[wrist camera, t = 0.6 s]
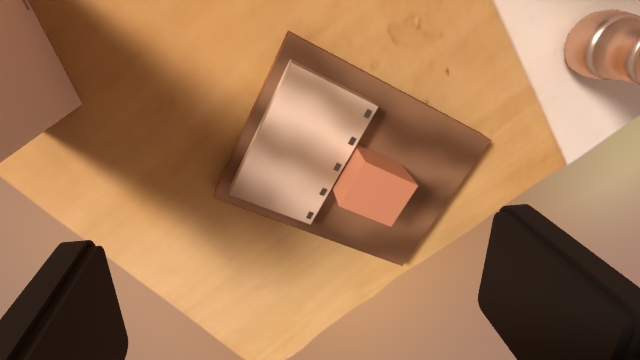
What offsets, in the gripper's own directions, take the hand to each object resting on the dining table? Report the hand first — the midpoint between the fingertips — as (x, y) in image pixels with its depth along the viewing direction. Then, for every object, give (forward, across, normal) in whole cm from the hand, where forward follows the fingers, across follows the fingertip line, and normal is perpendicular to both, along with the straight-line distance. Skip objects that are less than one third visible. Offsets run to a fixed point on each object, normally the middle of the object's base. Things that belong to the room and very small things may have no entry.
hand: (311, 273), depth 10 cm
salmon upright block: (+30, -10, +11) cm, 33 cm away
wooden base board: (+32, -9, +10) cm, 35 cm away
